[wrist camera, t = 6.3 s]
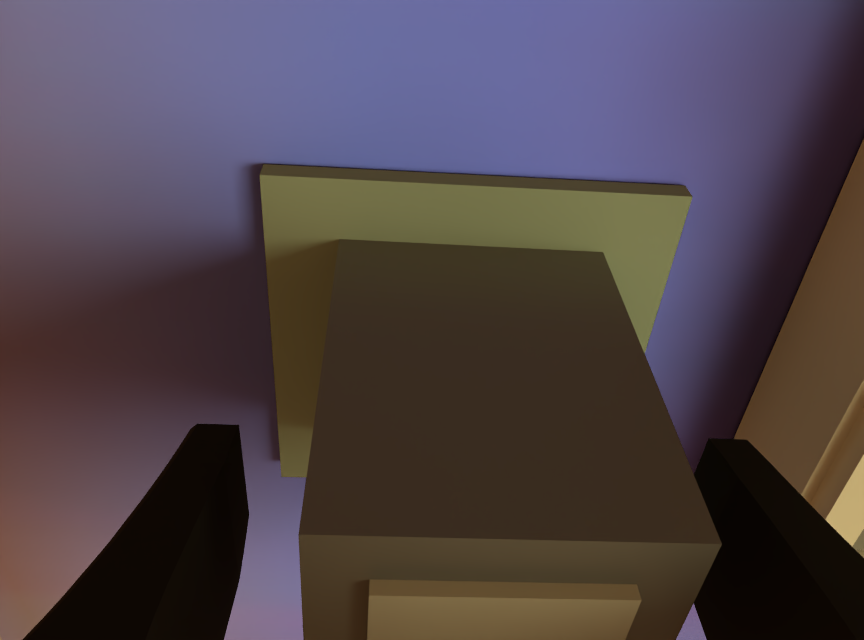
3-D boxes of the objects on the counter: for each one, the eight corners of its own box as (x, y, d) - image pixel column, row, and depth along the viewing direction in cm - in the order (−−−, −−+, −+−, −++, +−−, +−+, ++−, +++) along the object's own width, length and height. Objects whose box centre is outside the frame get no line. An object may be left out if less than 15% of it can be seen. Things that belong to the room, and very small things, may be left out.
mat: (600, 470, 17) (604, 484, 16) (283, 462, 16) (281, 476, 16) (685, 185, 13) (692, 196, 12) (263, 163, 12) (259, 174, 12)
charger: (557, 438, 16) (629, 755, 11) (338, 430, 15) (307, 755, 10) (602, 251, 13) (728, 559, 8) (339, 238, 13) (296, 551, 8)
